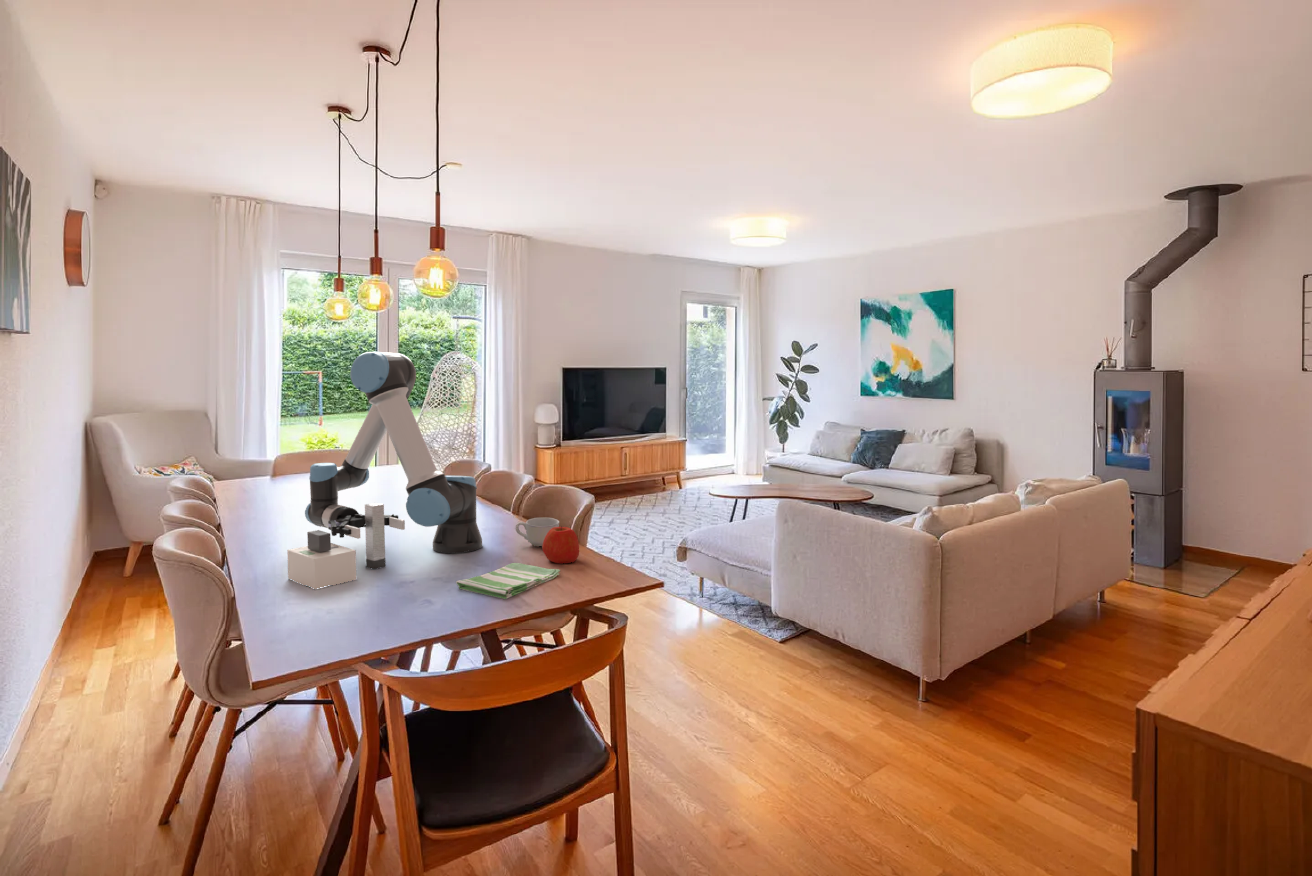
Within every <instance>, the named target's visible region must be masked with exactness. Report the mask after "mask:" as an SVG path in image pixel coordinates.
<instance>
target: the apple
mask: <svg viewBox="0 0 1312 876" xmlns="http://www.w3.org/2000/svg"><path fill="white" fill-rule="evenodd" d="M578 539H579V538H578V535H577V533H576V532H575V531H574V529H572V528H570V527H567V526H559V527H553V528H552V529H550V530H549V532H548V533H547V535H546V536H545V538H544V541H543V545H542V547H541V548H542V553H543V554H544V556H545V557H546V559H547V561H549V562H552V563H555V564H562V565H563V563H564V564H570V563H571V562H572V563H574V562H576V561H577V560H578V558H579V555H580V544H579V540H578Z"/></svg>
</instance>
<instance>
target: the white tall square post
mask: <svg viewBox="0 0 1312 876" xmlns="http://www.w3.org/2000/svg"><path fill="white" fill-rule="evenodd" d="M364 515H365V527H364V528H365V530H364V531H365V557H366V558H365V565H366V566H365V567H366V568H367V567H368V569H371V568H372V570H376V569H377V568H378V569H381V568H380V567H382V568H386V567H385V566H387V564H386V561H387V560H386V542H385V540H386V539H385V536H386V535H385V526H384V515H385V504H384V503H378V502H374V503H366V504H364Z"/></svg>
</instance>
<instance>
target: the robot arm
mask: <svg viewBox="0 0 1312 876" xmlns="http://www.w3.org/2000/svg"><path fill="white" fill-rule="evenodd" d="M350 380H351V383H352V384H353V386H354V388H355V389H356V390H358V391H360V392H362V393H365V396H366V399H367V401H368V403H369V404H370V405H371V407H370V408H369V411H368V413H367V415H366V417H365V419H364V421H363V423H362V424H361V427H359V428H360V429H359V431H358V432H357V435H356V437H355V438H354V440H353V443H352V444H351V446H350V448H349V450H348V453H347V454H346V456H345V458H344V459H343V462H342V464H340V465H341V466H338V465H337V464H336V463H334V462H320V463H318V462H317V463H313V464H312V465H310V466H309V490H310V493H309V494H310V501H309V502H310V503H308V504H307V505H306V507H305V510H304V516H305V519H306V520H307V522H309V523H310V524H312V525H314V526H317V527H320V528H326V529H328V530H330V534H331V536H332V537H336V536H337V535H338V534H339V538H340V539H341V538H345V536H348V537H351V538H355V539H361V528H365V514H361V513H359V512H358V511H357V509H355V508H353V507H350V506H349V507H348V506H347V505H346V506H345V505H342V504H341V505H340V504H339V500H338V499H339V492H340V491H344V490H347V489H352V488H353V489H354V488H357V487H360V486H362V485H365V484H366V483H367V482H368V481H369V478H370V470H369V466H370V465H371V462H372V461H373V459H374V456H375V455H376V453H377V451H378V449H379V447H380V446H381V444H382V442H383V440H384V438H385V436H386V433H387V434H388V436H389V438H390V441H391V444H392V445H393V448H394V450H395V452H396V455H397V457H398V459H399V462H400V464H401V466H402V469H403V471H404V474H405V476H406V478H407V484H406V487H405V490H406V493H407V495H408V497H407V498H406V503H405V509H406V513H407V515H408V517H409V518H410V519H411V520H412V521H413V522H414V523H415V524H417V525H418V526H419V525H420V526H422V527H426V528H427V527H428V528H430V527H435V526H437V527H436V531H435V534H434V536H433V537H434V538H433V539H432V550H433V551H435V552H437V553H443V554H460V553H461V554H462V553H469V552H473V551H477V550H479V549H481V548H482V547H483V538H482V534H481V532H480V530H479V526H478V523H477V490H478V489H477V483H476V481H477V480H476V478H475V477H474V476H471V475H470V476H468V475H467V476H466V475H446V474H445V472H442V471H440V470H438V469H437V467H436V464H435V463H434V460H433V457H432V456H431V455H432V454H431V452H430V451H429V449H428V446H427V444H426V443H427V442H426V441H425V439H424V436H423V434H422V432H421V428H420V427H419V424H418V423H417V420H416V417H415V415H414V413H413V410H412V408H411V406H410V403H409V401H408V399H409V397H410V395H411V393H412V391H413V389H414V387H415V384H416V383H415V382H416V380H417V371H416V367H415V364H414V363H413V361H412V360H411V359H410V358H409V357H408V356H406V355H404V354H402V353H399V352H382V351H377V350H376V351H367V352H363V353H361V354H359V355H358V356H356V358H355V359H354V360H353V362H352V365H351V366H350ZM405 525H406V522H405V519H400V518H399V515H398V514H394V513H392V514H384V527H385V526H387V527H388V526H389V528H394V529H397V530H401V531H403V530H405V529H406V526H405Z"/></svg>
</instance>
